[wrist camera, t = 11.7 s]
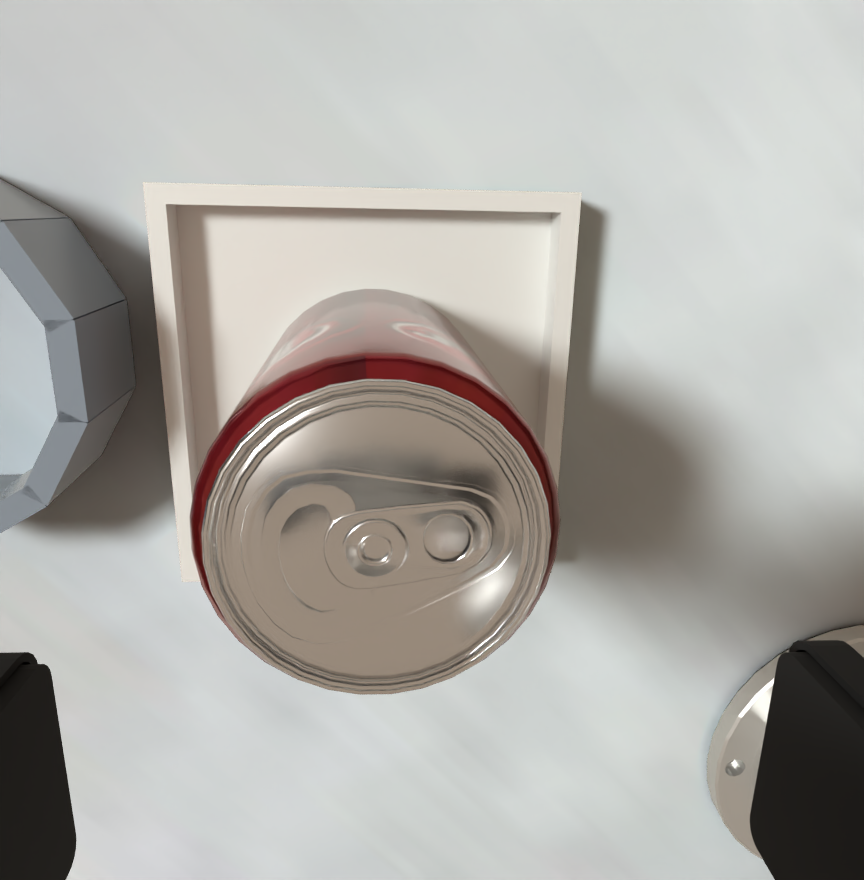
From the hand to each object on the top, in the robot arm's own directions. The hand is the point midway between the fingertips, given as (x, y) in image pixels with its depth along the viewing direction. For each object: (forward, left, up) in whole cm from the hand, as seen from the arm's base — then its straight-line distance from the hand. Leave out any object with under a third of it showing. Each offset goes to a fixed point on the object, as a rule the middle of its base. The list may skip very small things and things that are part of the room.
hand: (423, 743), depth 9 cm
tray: (+1, 0, -17) cm, 17 cm away
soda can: (+1, 0, -17) cm, 17 cm away
